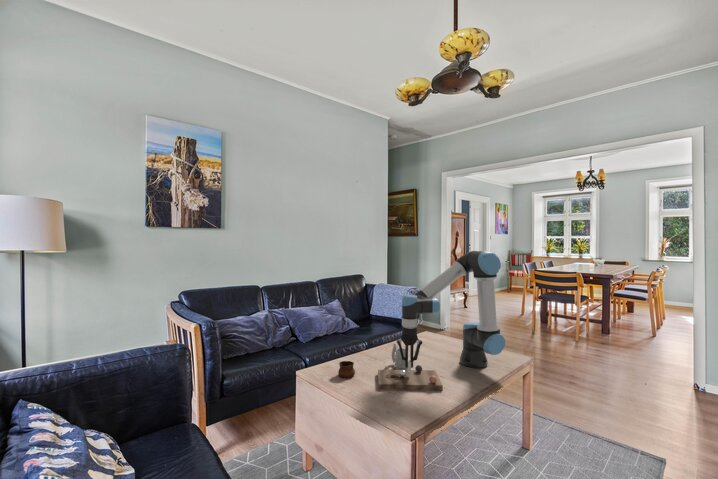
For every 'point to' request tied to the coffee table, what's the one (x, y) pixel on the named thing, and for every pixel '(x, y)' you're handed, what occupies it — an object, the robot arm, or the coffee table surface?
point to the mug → (398, 358)
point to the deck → (408, 380)
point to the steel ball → (402, 373)
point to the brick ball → (433, 379)
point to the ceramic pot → (346, 369)
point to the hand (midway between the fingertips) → (409, 373)
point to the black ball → (418, 368)
